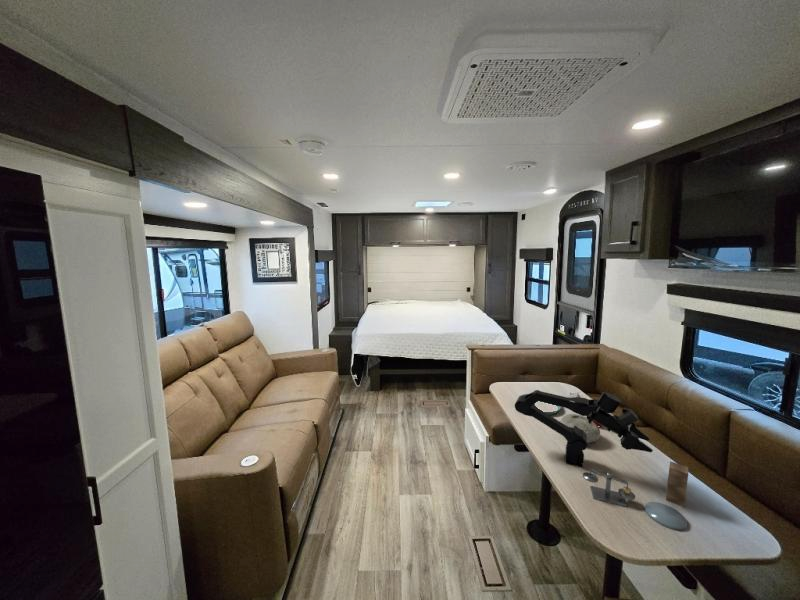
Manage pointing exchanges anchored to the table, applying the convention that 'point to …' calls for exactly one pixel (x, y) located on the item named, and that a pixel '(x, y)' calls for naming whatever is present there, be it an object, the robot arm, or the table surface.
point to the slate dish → (666, 515)
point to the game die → (574, 395)
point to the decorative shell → (582, 426)
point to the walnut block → (677, 484)
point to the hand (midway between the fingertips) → (650, 445)
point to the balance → (608, 489)
